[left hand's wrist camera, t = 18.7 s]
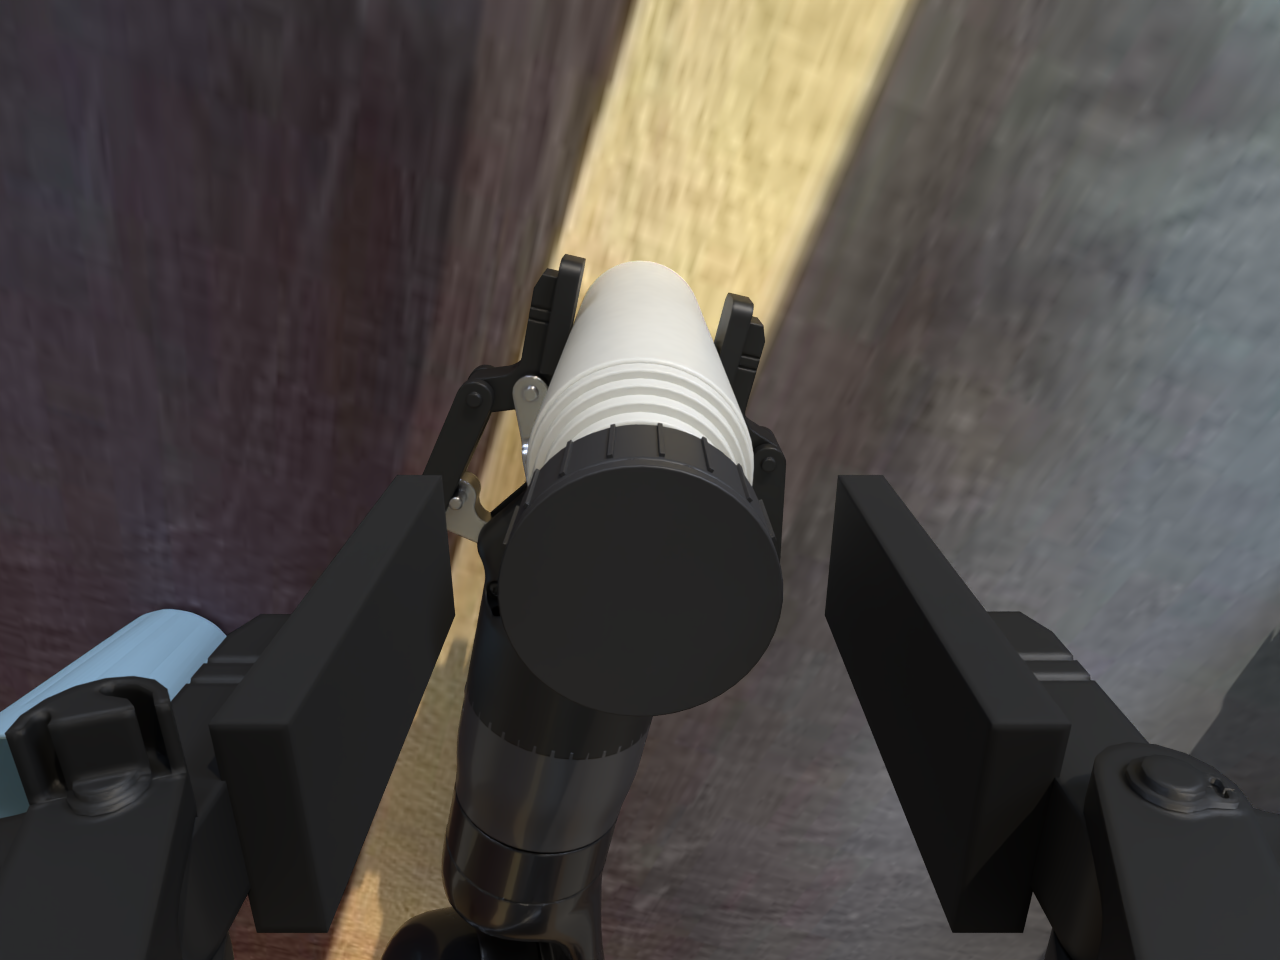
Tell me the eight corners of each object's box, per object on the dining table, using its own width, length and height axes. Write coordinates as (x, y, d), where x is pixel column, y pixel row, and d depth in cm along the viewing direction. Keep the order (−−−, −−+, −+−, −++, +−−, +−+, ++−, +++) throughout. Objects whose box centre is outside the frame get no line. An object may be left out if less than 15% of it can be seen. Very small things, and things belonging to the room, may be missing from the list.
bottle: (558, 344, 34) (435, 629, 14) (616, 236, 32) (576, 374, 12) (661, 402, 35) (692, 749, 14) (723, 299, 33) (856, 527, 13)
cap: (791, 439, 14) (814, 484, 12) (739, 664, 16) (753, 735, 14) (526, 401, 14) (508, 441, 12) (503, 634, 15) (483, 703, 13)
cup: (64, 617, 38) (-128, 772, 29) (207, 564, 38) (58, 707, 28) (156, 740, 41) (8, 921, 31) (291, 694, 40) (181, 866, 30)
